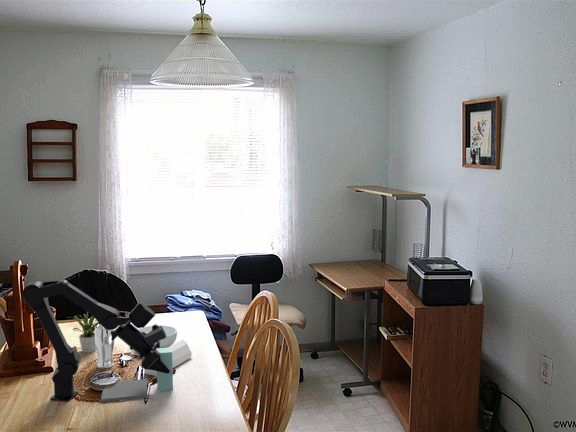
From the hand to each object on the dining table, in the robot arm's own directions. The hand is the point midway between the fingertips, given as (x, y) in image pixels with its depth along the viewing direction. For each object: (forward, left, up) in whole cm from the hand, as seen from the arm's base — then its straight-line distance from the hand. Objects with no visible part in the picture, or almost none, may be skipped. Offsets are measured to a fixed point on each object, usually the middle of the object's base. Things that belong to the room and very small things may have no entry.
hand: (168, 367), depth 198 cm
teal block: (-1, +1, -7) cm, 7 cm away
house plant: (+30, +46, -7) cm, 55 cm away
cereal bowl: (+38, +20, -7) cm, 44 cm away
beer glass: (+16, +31, -7) cm, 36 cm away
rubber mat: (-6, +13, -7) cm, 16 cm away
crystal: (+20, +8, -7) cm, 23 cm away
